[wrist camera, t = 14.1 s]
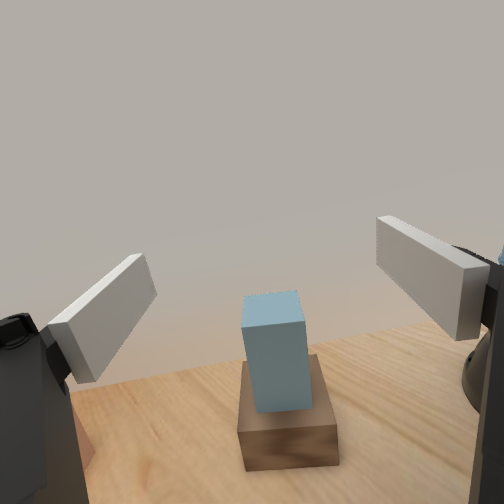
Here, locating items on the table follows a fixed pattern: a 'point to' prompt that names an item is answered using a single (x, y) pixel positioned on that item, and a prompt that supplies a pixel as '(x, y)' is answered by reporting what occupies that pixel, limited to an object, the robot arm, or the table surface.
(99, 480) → the table surface
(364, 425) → the table surface
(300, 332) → the blue brick
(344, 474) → the table surface
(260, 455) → the base block
